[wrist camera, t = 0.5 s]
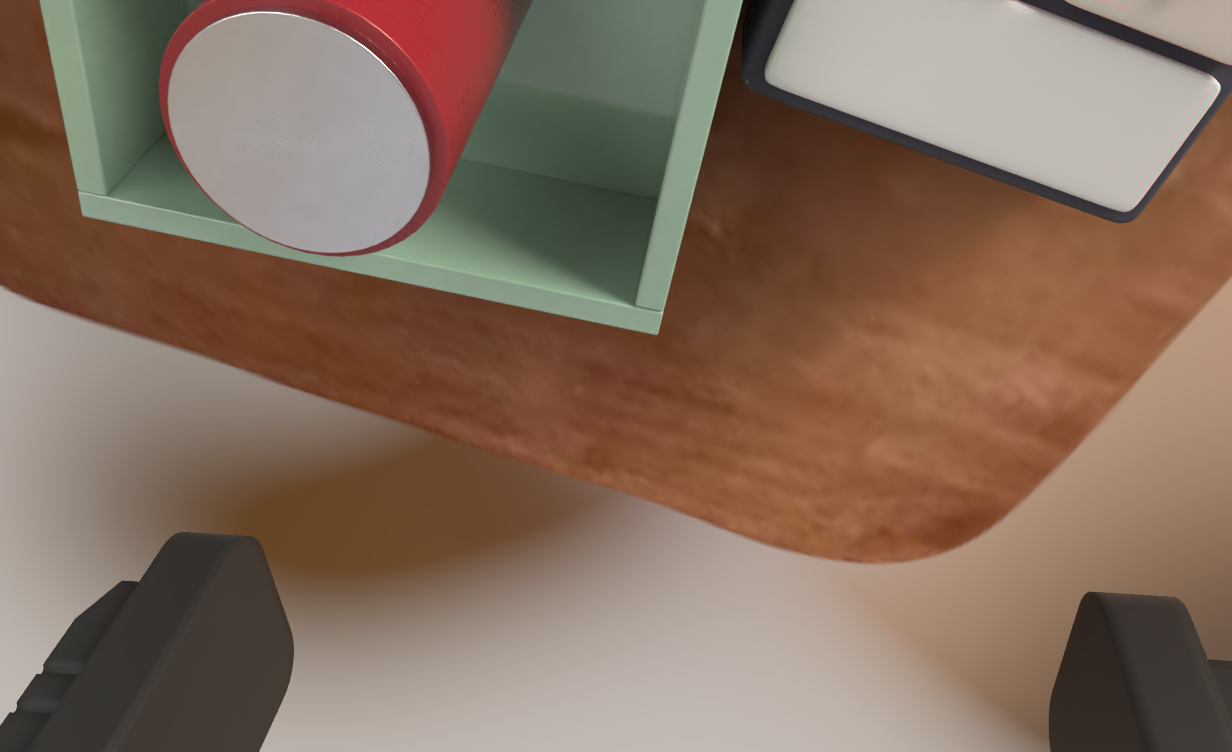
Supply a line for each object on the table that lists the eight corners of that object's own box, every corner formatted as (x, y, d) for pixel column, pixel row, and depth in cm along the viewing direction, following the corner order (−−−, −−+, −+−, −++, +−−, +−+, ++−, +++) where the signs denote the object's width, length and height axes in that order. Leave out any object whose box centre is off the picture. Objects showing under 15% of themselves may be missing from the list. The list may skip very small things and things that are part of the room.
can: (330, -188, 26) (131, -37, 18) (553, -139, 26) (455, 32, 18) (332, 29, 29) (168, 234, 21) (527, 71, 29) (437, 290, 22)
